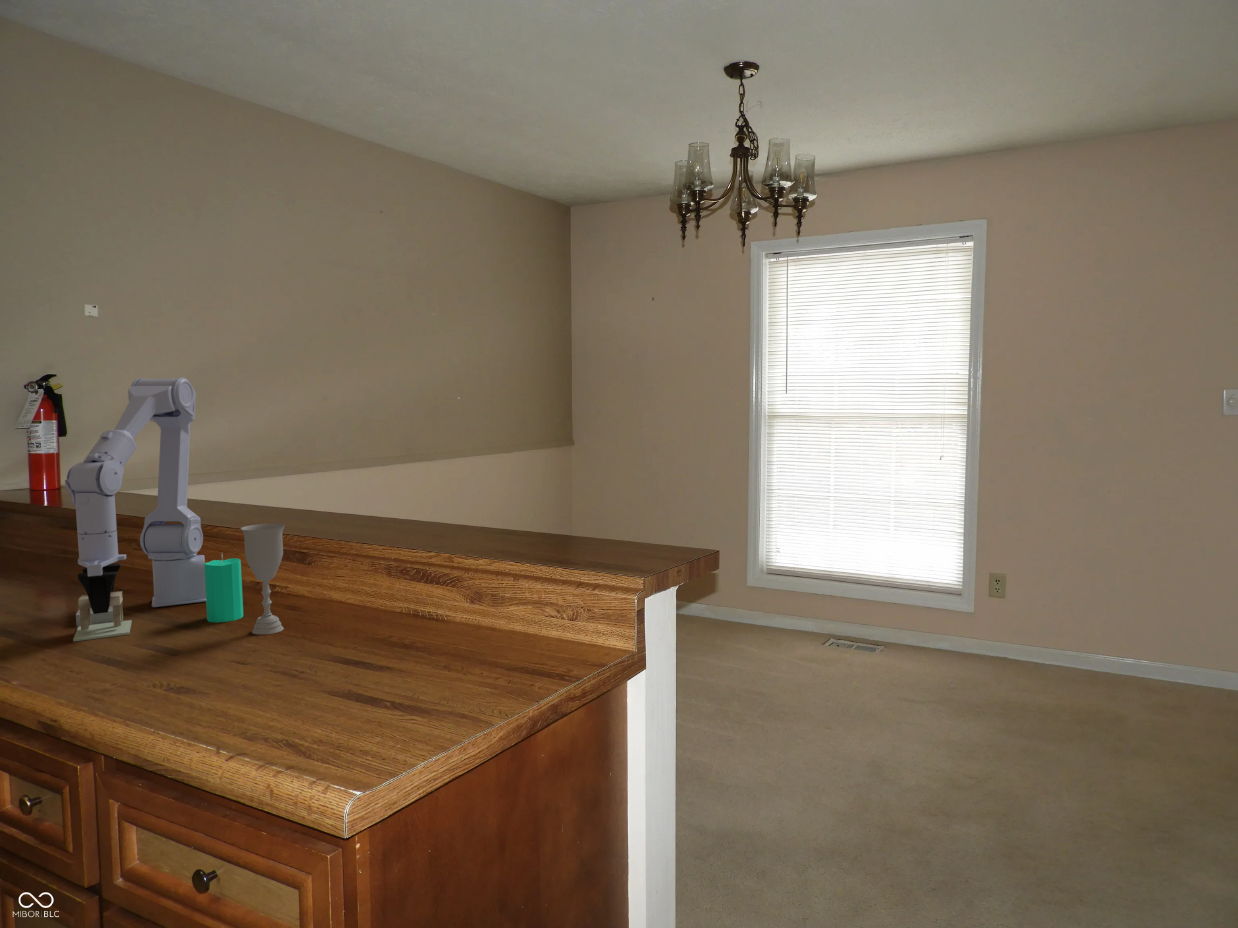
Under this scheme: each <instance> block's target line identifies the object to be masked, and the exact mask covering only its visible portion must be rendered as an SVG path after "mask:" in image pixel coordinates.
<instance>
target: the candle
mask: <svg viewBox="0 0 1238 928" xmlns="http://www.w3.org/2000/svg"><path fill="white" fill-rule="evenodd" d="M223 558H224V557H223V553H221V560H220V559H219V560H217V559H213V560H211V561H209V562H205V563H204V572H205V591H206V601H205V605H206V606H205V607H206V608H205V609H206V621H208V622H209V623H226V622H227V623H228V622H233V621H237V620H240V619H242V618H243V617H244V604H243V602H244V601H243V600H244V599H243V581H242V580H243V579H242V564H241V562H242V561H241V559H240V558H235V557H234V558H233V557H232V558H228V559H223Z"/></svg>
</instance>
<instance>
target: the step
mask: <svg viewBox="0 0 1238 928" xmlns="http://www.w3.org/2000/svg"><path fill="white" fill-rule="evenodd" d="M90 614H91V625H94V624H103V623H111V622H114V618H113V606H110V607H109V610H108V612H107V613H98V614H94V613H93V611H92V609H91V608H90ZM75 619H76V620H75V625H76V627H79V626H81V623H80V609H79V608H78V610H77V612H76V614H75Z"/></svg>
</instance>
